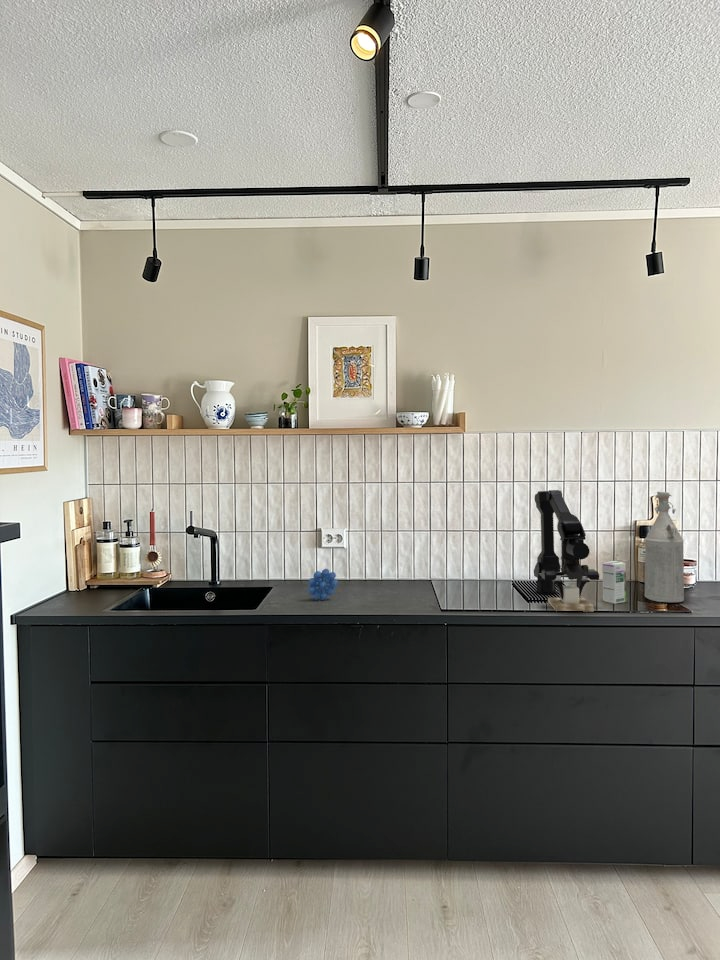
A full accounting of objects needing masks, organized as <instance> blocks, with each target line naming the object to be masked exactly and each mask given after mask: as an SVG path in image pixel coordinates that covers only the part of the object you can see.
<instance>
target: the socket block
mask: <svg viewBox="0 0 720 960" xmlns="http://www.w3.org/2000/svg"><path fill="white" fill-rule="evenodd" d="M547 603H549V604H550V605H551V606H552V607H553V608H554V611H556V612H557V611H583V612H585V613H586V612H590V613H591V612H594V610H595V609H594V605H593V604H592V603H590V602H589V601H588V600H587V599H585V598H584V597H579V604H564V603H563V602H562V601H561V597H548V598H547ZM549 604H548V605H549ZM550 605H549V606H550ZM551 606H550V607H551ZM552 607H551V608H552Z"/></svg>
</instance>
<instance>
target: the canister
mask: <svg viewBox="0 0 720 960" xmlns="http://www.w3.org/2000/svg"><path fill="white" fill-rule="evenodd" d="M670 497H672V495H671V494H670V492H667V491H657V492H656V495H655V498H654V501H657V500H658V504H657V506H656V507H654V511H655V513H656V514H657V517H656V519H655V520H654V522H653V524H652V526H651V527H650V529H649V532H648V533H647V535H646V537H645V538H644V540H645V541H644V542H645V543H644V597H645V598H646V599H648V600H650V601H653V602H658V603H682V602H684V601H685V593H684V592H685V588H684V587H685V585H684V583H685V582H684V581H685V580H684V579H685V572H684V571H685V569H684V568H685V566H684V562H685V560H684V559H685V558H684V548H685V547H684V544H685V543H684V541H685V540H684V538H683V537H682V535H681V534H680V532H679V529H678V528H677V527H676V525H675V523H674V522H673V519H672V517H671V515H670V514H669V511H670V509H671V510H672V511H671V512H672V514H675V512H676V511H677V509H676V508H674V504H673V503H672V502H670V501H669V499H670ZM656 499H657V500H656ZM670 505H671V506H672V507H671V506H670Z"/></svg>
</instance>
